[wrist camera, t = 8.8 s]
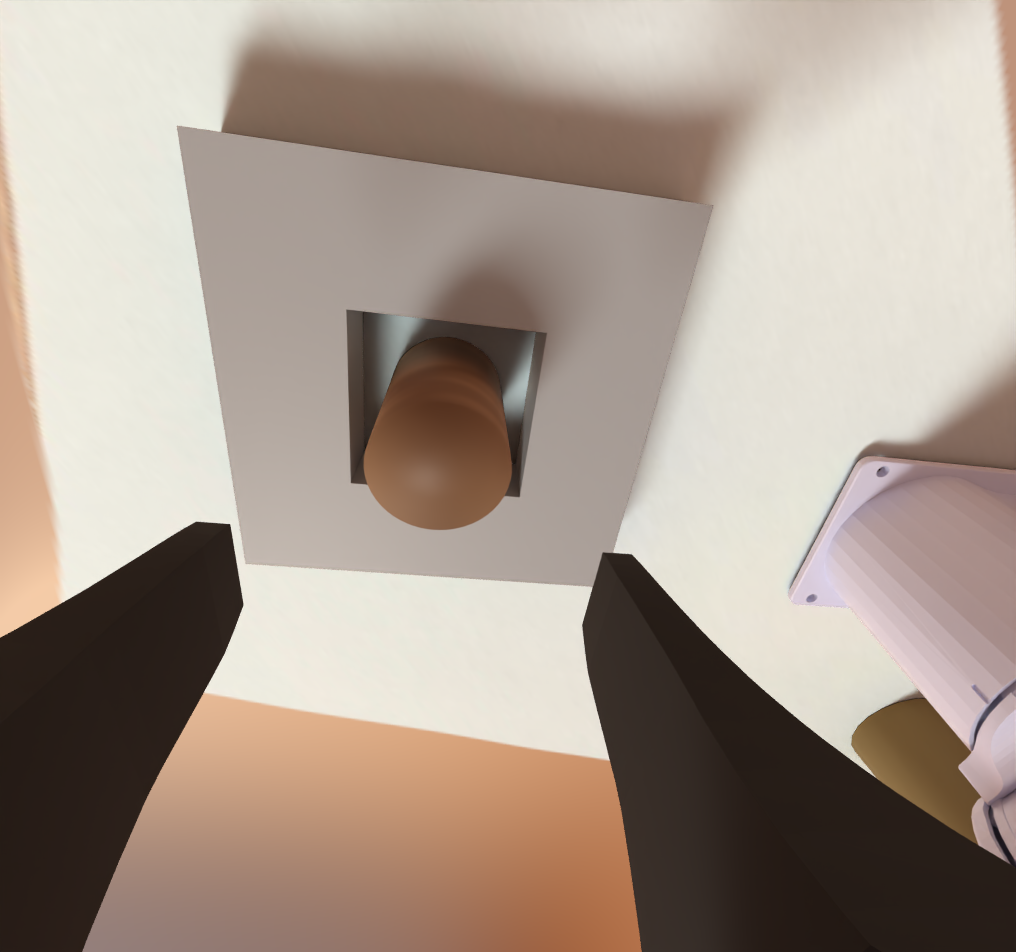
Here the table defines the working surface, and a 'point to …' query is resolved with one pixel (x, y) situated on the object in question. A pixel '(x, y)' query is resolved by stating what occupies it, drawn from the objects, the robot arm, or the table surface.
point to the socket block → (438, 296)
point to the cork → (919, 761)
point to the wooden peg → (440, 438)
